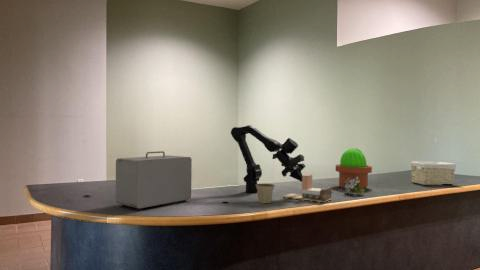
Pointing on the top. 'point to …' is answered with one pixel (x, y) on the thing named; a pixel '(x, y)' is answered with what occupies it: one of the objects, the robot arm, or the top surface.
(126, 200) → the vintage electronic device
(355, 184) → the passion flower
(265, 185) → the flower pot
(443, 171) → the storage basket
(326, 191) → the tan cardboard slab
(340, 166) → the potted cactus
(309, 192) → the brown piece
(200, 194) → the top surface
